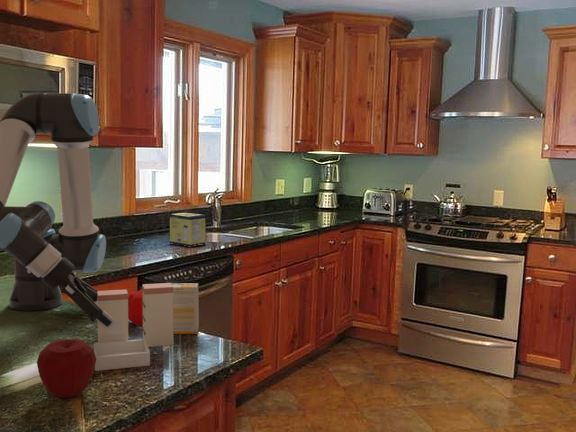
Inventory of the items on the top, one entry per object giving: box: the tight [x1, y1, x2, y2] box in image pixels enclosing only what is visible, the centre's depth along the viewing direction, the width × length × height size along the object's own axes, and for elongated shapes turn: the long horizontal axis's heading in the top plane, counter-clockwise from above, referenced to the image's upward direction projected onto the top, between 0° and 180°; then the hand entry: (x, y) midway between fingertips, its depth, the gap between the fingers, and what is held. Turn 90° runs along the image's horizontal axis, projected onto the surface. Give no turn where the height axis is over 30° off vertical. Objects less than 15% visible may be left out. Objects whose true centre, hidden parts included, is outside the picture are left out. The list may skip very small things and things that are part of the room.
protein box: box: [169, 212, 206, 246], centre depth 292 cm, size 10×16×16 cm
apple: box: [36, 338, 96, 399], centre depth 115 cm, size 11×11×12 cm
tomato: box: [128, 286, 143, 327], centre depth 163 cm, size 11×13×10 cm
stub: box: [97, 288, 129, 343], centre depth 143 cm, size 4×7×14 cm, turn 110°
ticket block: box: [141, 282, 174, 348], centre depth 147 cm, size 5×7×15 cm, turn 110°
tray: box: [93, 338, 151, 372], centre depth 135 cm, size 10×12×3 cm
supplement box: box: [170, 282, 200, 335], centre depth 156 cm, size 8×5×13 cm, turn 92°
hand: (118, 324), depth 144 cm, fingers open, 13 cm apart
